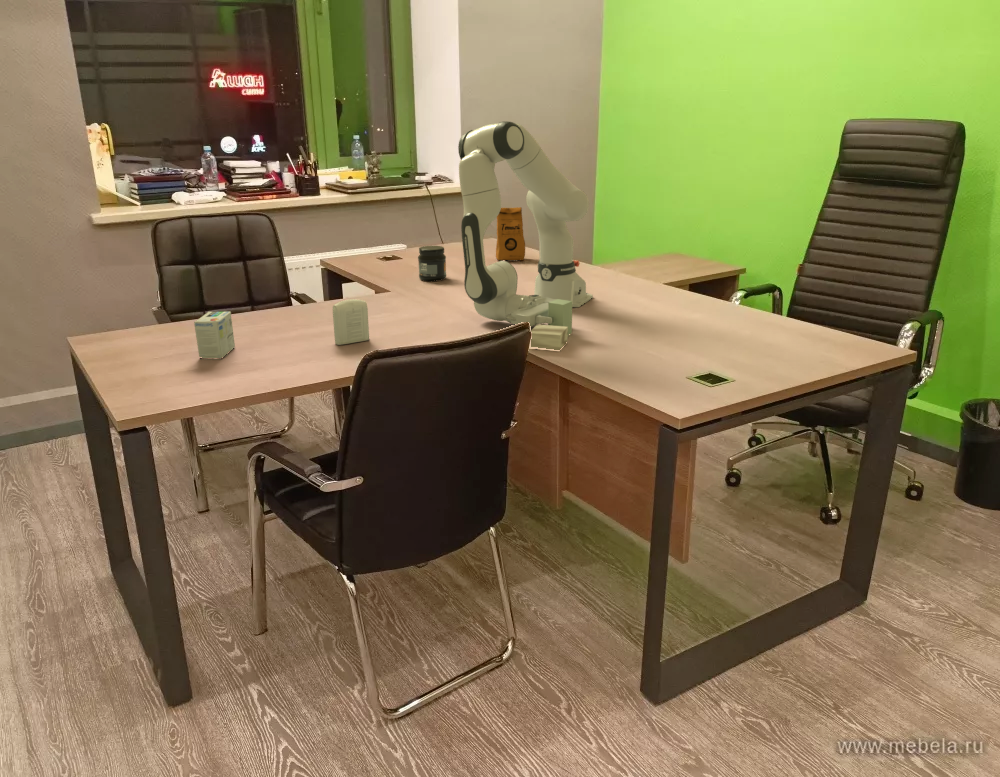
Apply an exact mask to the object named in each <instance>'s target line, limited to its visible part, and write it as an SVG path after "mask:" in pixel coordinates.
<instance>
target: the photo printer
mask: <svg viewBox="0 0 1000 777" xmlns="http://www.w3.org/2000/svg"><path fill="white" fill-rule="evenodd" d="M332 321H333V335H334V343H335V345H337V346H342V345H348V344H353V343H359V342H364V341H369V340H370V331H369V330H370V329H369V328H370V327H369V308H368V304H367V301H365V300H364V299H356V298H354V299H353V298H352V299H351V298H350V299H344V300H342V301H339V302H337V303H335V304H333V305H332Z"/></svg>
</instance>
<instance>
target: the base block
mask: <svg viewBox="0 0 1000 777" xmlns="http://www.w3.org/2000/svg"><path fill="white" fill-rule="evenodd" d="M530 331H531V332H532V339H531V347H538V348H546V349H554V350H560V349H561V348H562V347H563V346H564V345H565V344H566V342H567V341H568V340H569V338H568V337H569V336H568V327H565V326H552V325H548V324H536V325H534V327H533V328H531V330H530ZM566 345H567V344H566ZM566 345H565V346H566Z"/></svg>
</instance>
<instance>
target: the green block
mask: <svg viewBox="0 0 1000 777" xmlns="http://www.w3.org/2000/svg"><path fill="white" fill-rule="evenodd" d="M548 316H551V317H554V322H553V323H551V324H547V325H552V326H565V327H568V335H569V334H571V333H573V332H572V330H573V307H572V301H567V300H561V299H556V300H554V301H551V302H549V303H548ZM569 336H570V335H569Z"/></svg>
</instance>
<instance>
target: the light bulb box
mask: <svg viewBox="0 0 1000 777" xmlns="http://www.w3.org/2000/svg"><path fill="white" fill-rule="evenodd" d="M193 322H194V323H193V324H194V331H195V337H196V344H197V352H198V358H199V357H202V358H222V357H224V356H225V355H226V354H227V353H228V352H229V351H231V350H232V349H233V348H234V347H235V348H236V345H235V344H236V343H235V336H234V329H233V321H232V312H231V311H229V310H228V311H207V312H206V313H205V314H203V315H202V316H201V317H200V318H198V319H196V320H195V321H193ZM235 348H234V349H235ZM234 349H233V350H234ZM233 350H232V351H233ZM232 351H231V352H232ZM227 355H228V354H227ZM227 355H226V356H227ZM226 356H225V357H226ZM225 357H224V358H225Z"/></svg>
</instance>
